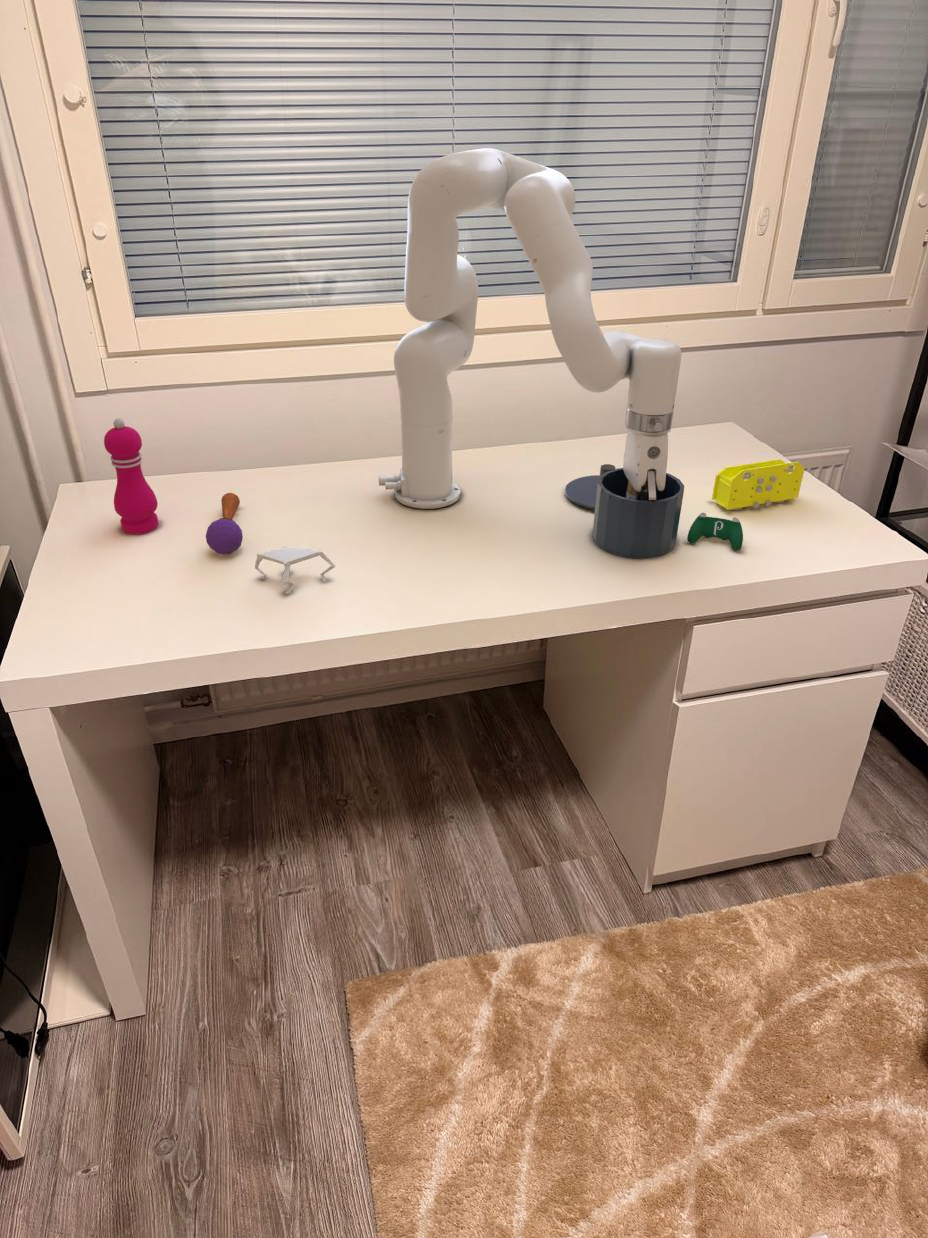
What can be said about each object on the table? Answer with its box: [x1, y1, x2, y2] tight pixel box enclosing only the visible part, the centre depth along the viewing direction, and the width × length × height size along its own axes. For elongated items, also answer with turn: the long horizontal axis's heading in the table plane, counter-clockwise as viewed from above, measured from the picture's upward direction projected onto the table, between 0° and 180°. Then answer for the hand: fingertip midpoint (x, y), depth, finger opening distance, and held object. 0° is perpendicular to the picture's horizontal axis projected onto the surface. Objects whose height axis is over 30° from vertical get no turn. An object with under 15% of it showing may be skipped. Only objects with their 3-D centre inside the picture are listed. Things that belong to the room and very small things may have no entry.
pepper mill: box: [103, 417, 160, 535], centre depth 152 cm, size 7×7×20 cm
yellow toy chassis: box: [711, 458, 805, 511], centre depth 166 cm, size 16×6×8 cm, turn 110°
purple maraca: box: [205, 492, 244, 555], centre depth 154 cm, size 6×6×20 cm
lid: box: [564, 463, 616, 510], centre depth 168 cm, size 15×15×6 cm
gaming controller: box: [687, 512, 744, 552], centre depth 154 cm, size 9×4×6 cm
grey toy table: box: [254, 546, 336, 595], centre depth 140 cm, size 12×8×5 cm
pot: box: [592, 467, 685, 559], centre depth 152 cm, size 14×15×10 cm
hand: (636, 519), depth 153 cm, fingers closed on sprinkles bottle, 4 cm apart
